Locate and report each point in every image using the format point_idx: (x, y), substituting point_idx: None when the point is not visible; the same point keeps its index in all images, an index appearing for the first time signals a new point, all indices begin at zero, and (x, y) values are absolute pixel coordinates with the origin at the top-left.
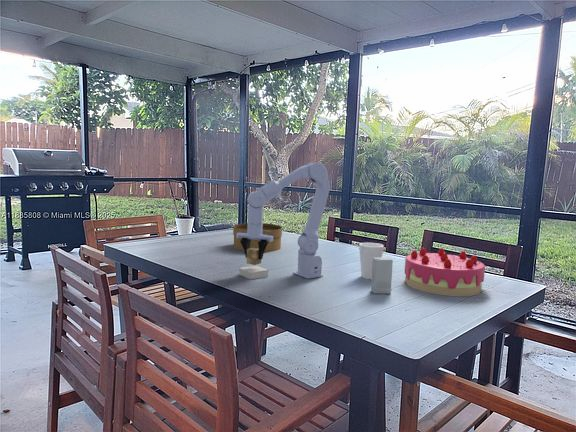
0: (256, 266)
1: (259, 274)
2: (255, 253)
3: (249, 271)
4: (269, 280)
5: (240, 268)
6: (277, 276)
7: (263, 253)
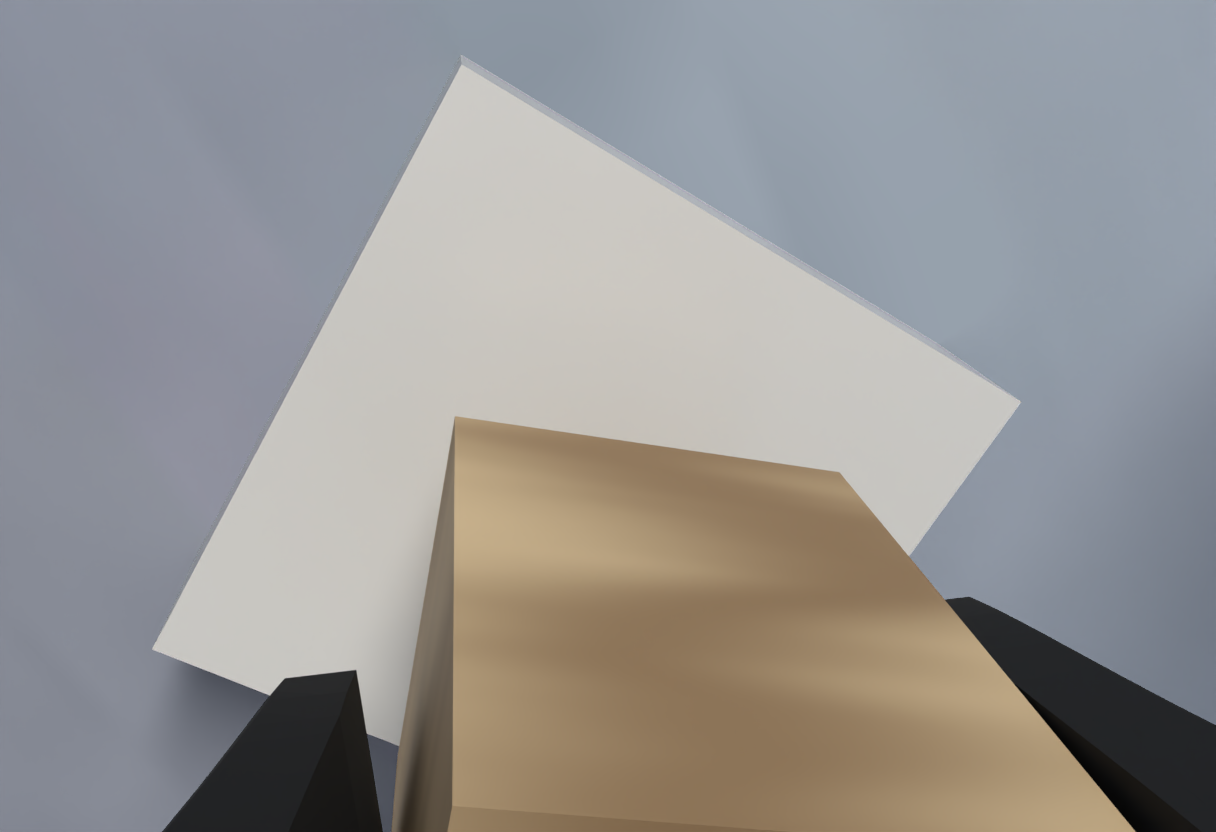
0: (523, 212)
1: None
2: None
3: None
4: (1061, 603)
5: (214, 671)
6: (1154, 206)
7: (1141, 701)
